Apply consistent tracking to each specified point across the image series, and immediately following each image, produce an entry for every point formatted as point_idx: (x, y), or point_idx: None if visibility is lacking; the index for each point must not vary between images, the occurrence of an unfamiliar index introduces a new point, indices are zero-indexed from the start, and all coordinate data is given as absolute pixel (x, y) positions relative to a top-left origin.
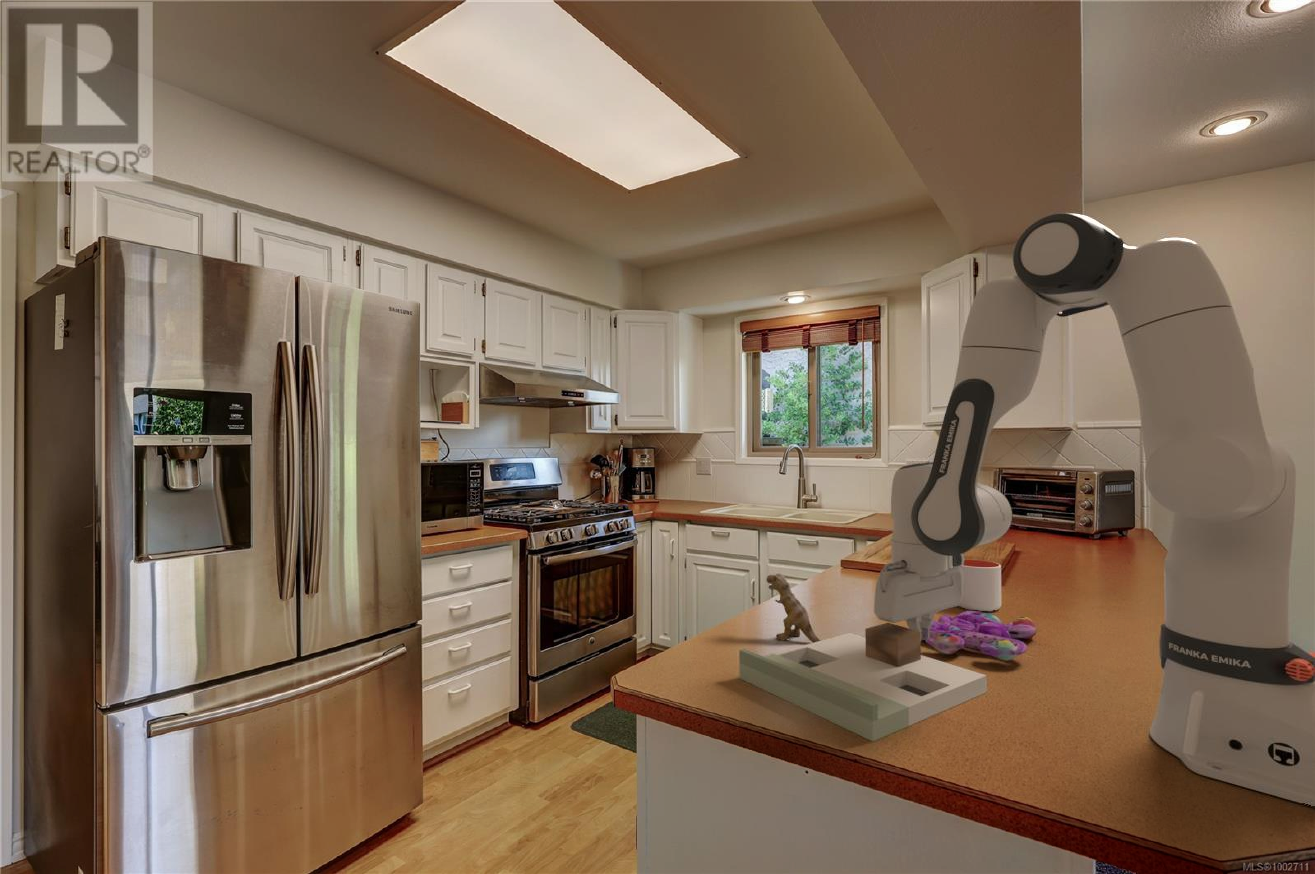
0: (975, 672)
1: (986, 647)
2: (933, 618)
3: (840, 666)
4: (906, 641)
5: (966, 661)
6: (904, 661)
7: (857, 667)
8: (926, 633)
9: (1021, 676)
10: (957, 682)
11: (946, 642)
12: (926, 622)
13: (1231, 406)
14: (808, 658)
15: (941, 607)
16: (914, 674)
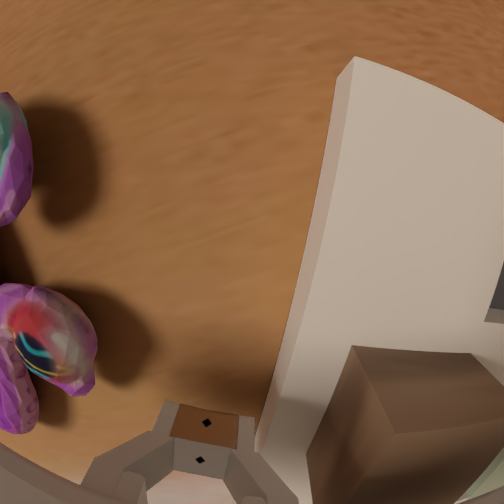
0: (353, 100)
1: (14, 182)
2: (101, 459)
3: None
4: (479, 404)
5: (66, 247)
6: (449, 359)
7: None
8: (188, 425)
9: (84, 59)
10: (496, 141)
11: (70, 334)
12: (147, 467)
13: None
14: None
15: (20, 473)
16: (490, 290)
